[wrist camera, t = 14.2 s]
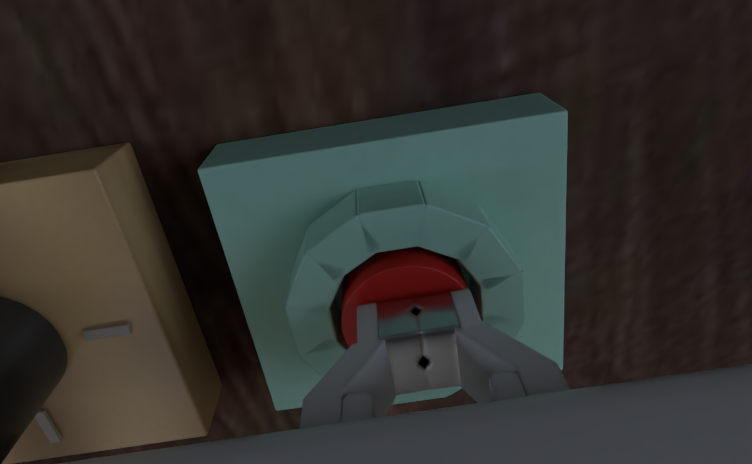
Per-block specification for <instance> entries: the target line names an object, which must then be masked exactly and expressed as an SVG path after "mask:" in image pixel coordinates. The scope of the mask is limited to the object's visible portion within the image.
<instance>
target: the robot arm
mask: <svg viewBox="0 0 752 464" xmlns="http://www.w3.org/2000/svg"><path fill="white" fill-rule="evenodd" d="M458 386H461V388H462V389H463V390H464V391H466V392H467V393H468V394H469V395H470V396H471V397H472V398H473V399H474V400H475V401H476V402H478V403H476V404H469V405H462V406H455V407H448V408H441V409H434V410H427V411H420V412H413V413H406V414H399V415H392V416H386V414H387V412H388V410H389V409H390V407H391V405H392V403H393V401H394V400H395V398H396V395H402V394H408V393H413V392H419V391H425V390H432V389H441V388H449V387H458ZM58 464H752V364H748V365H741V366H734V367H726V368H719V369H712V370H705V371H698V372H691V373H684V374H677V375H670V376H663V377H656V378H649V379H642V380H635V381H628V382H621V383H615V384H608V385H601V386H594V387H587V388H580V389H573V390H571V389H570V388H569V386H568V384H567V382H566V380H565V378H564V376H563V374H562V372H561V370H560V368H559V366H558V364H557V363H556V362H554V361H553V360H551V359H549V358H547V357H546V356H544V355H542V354H540V353H539V352H537V351H535V350H533V349H532V348H530V347H528V346H526V345H525V344H523V343H521V342H519V341H518V340H516V339H514V338H512V337H511V336H509V335H507V334H505V333H504V332H502V331H500V330H498V329H497V328H495V327H493V326H491V325H490V324H482V321H481V318H480V316H479V313H478V310H477V308H476V305H475V302H474V299H473V297H472V294H471V291H470V290H469V289H468V288H467V289H462V290H456V291H451V292H447V293H441V294H435V295H429V296H423V297H417V298H407V299H400V300H392V301H384V302H377V303H370V304H363V305H358V307H357V343H354V344H352V345H351V346H350V347H349V348H348V349H347V350H346V352H345V353H344V354H343V355H342V356H341V357H340V358H339V359H338V361H337V362H336V363H335V364H334V365H333V366H332V367H331V368H330V370H329V371H328V372H327V373H326V374H325V375H324V376H323V377H322V379H321V380H320V381H319V382H318V383H317V384H316V385H315V387H314V388H313V389H312V390H311V391H310V392H309V393H308V394H307V396H306V397H305V398H304V399H303V405H302V413H301V421H300V429H294V430H287V431H280V432H273V433H266V434H260V435H253V436H246V437H239V438H232V439H225V440H218V441H211V442H204V443H197V444H190V445H183V446H176V447H169V448H162V449H155V450H148V451H141V452H134V453H127V454H120V455H113V456H106V457H99V458H92V459H85V460H79V461H72V462H65V463H58Z"/></svg>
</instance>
